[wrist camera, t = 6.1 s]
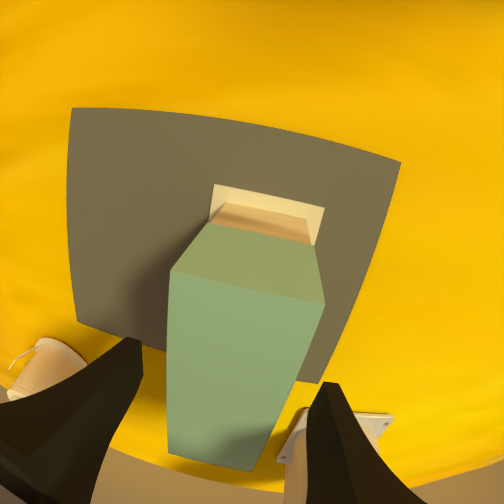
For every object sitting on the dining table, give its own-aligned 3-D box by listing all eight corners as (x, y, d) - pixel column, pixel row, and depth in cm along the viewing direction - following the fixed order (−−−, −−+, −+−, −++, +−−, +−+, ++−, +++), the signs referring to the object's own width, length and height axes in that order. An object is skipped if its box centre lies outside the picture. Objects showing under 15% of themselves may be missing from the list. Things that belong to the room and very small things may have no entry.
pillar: (287, 288, 17) (286, 334, 13) (215, 272, 17) (195, 313, 13) (306, 218, 15) (312, 250, 11) (226, 201, 15) (206, 227, 11)
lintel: (259, 411, 15) (251, 471, 12) (188, 395, 15) (168, 452, 12) (313, 245, 11) (325, 304, 7) (207, 222, 11) (170, 270, 8)
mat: (317, 379, 20) (318, 384, 19) (80, 318, 20) (76, 322, 20) (398, 161, 14) (401, 162, 13) (76, 107, 14) (70, 107, 14)
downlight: (26, 347, 23) (-24, 414, 14) (46, 319, 21) (-19, 401, 12) (83, 399, 25) (45, 472, 16) (114, 382, 23) (70, 472, 14)
